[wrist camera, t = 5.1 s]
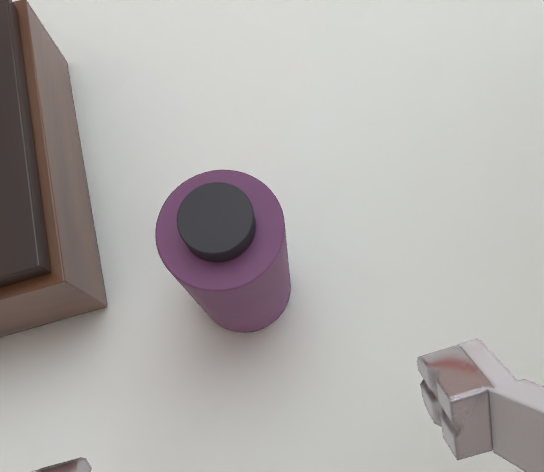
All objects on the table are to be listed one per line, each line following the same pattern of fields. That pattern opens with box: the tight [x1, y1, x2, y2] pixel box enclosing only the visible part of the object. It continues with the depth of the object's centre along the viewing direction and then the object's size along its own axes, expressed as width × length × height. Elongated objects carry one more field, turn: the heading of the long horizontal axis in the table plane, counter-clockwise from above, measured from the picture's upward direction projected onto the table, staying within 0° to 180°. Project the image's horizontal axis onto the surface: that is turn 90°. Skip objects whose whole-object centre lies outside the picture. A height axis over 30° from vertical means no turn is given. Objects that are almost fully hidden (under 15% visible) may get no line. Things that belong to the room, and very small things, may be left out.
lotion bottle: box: [156, 170, 291, 332], centre depth 22 cm, size 5×5×10 cm
